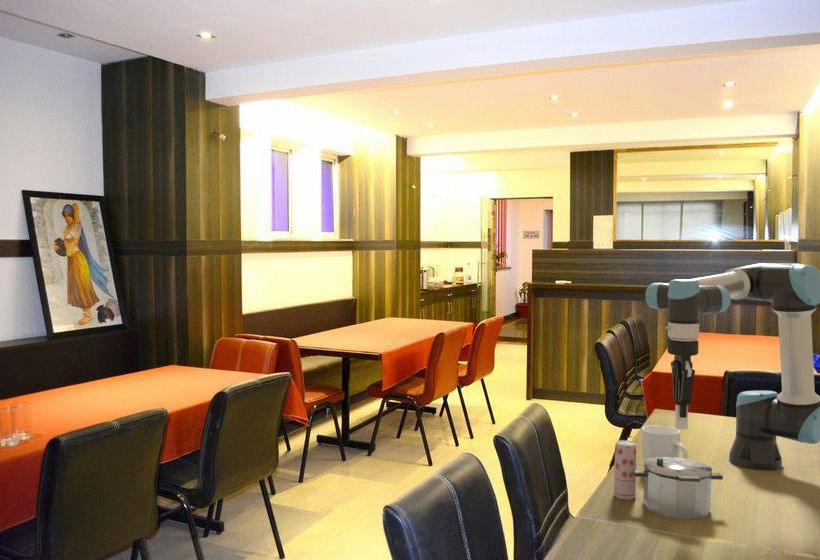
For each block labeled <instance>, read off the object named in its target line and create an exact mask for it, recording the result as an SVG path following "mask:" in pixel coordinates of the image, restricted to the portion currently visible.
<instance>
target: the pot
mask: <svg viewBox="0 0 820 560" xmlns="http://www.w3.org/2000/svg"><path fill="white" fill-rule="evenodd" d="M633 475H634V476H635V477H636V478H637V477H640V478H643V505H644V506H645V508H646V509H647V510H648V511H650V512H652V513H654V514H656V515H659V516H663V517H666V518H672V519H677V520H698V519H704V518H707V517H708V516H709V514H710V513H711V507H712V505H711V504H712V503H711V498H712V496H711V495H712V494H711V493H712V480H716V481H717V480H720V481H721V480H723V478H724V477H723V476H724V475H722V473H720V472H712V475H711V476H709V477H706V478H701V479H700V482H690V481H679V480H678V479H677V478H671V477H665V476H661V475H657V474H654V473H652V472H649V471H648V470H646V469H645V468H644V467H643V469H642V470H641V469H636V470H633Z"/></svg>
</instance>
